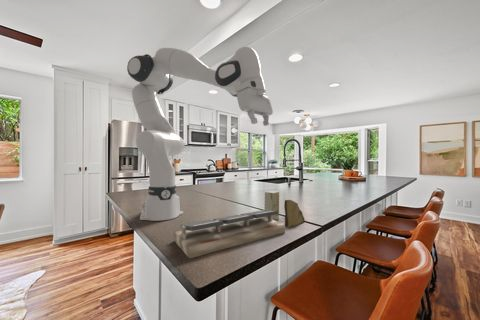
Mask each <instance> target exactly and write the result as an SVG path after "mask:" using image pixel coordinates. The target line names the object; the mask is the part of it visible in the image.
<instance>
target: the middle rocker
mask: <svg viewBox="0 0 480 320" xmlns="http://www.w3.org/2000/svg"><path fill="white" fill-rule="evenodd" d="M217 219H218V220H220V221H223V224H231V223H236V222H241V221H246V220H251V219H253V215H240V214H234V215H230V216H223V217H218V218H213V219H212V220H217Z"/></svg>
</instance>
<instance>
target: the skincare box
mask: <svg viewBox="0 0 480 320" xmlns="http://www.w3.org/2000/svg"><path fill="white" fill-rule="evenodd" d="M268 210H270V211H278V214H276V215H273V220H275V221H277V220H279V219H280V191H278V190H276V191H275V190H269V191H264V211H268ZM266 217H267V218H268V216H266Z"/></svg>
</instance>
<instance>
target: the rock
mask: <svg viewBox="0 0 480 320" xmlns="http://www.w3.org/2000/svg"><path fill="white" fill-rule="evenodd" d="M283 207H284V213H285V214H284V224H285V227H288V228H290V227H295V226H298V225H299V224H301V223H304V222H305V221H306V220H305V217H304V214H303V211H302V210H301V209H300V206H299V204H298V203H297V202H296V201H294V200H292V199H286V200H284V206H283Z"/></svg>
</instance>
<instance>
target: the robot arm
mask: <svg viewBox="0 0 480 320" xmlns="http://www.w3.org/2000/svg"><path fill="white" fill-rule="evenodd" d="M126 68H127V70H126V71H127V73H128V76H130V78H132V79H133V80H135V82H137V83H138V82H139V84H136V85H135V86H133V88H132V90H131V97H132V101H133V104H134V108H135V110H136V114H137V116H138V118H139V122H140V123H141V126H143V128H144V129H145V130H143V131H141V132H139V133H138V135H137V137H136V141H135V143H136V148H137V150H138V151H139V152H140V153H141V154H142V155H143V157H144V158H145V161H146V163H147V167H148V171H149V173H148V174H149V176H148V177H149V186H148V189H147V190H148V191H147V194H148V196H147V198H146V199H145V201H143V202H142V203H141V208H143V209H142V210H141V211H140V215H139V220H140V221H152V222H157V221H168V220H172V219H176V218H177V217H179V216H181V215H183V214H184V211H183V210H180V209H181V207H180V196H179V195H177V194H176V193H177V185H176V169H175V167H174V166H173V165H172V163H171V161H170V158H169V157H173V156H177V155H180V154H181V153H182V152H183V151H184V149H185V146H186V145H185V141H184V138H182V137H181V136H180V135H179V134H178V133H177V132H176V130H175V129H174V127H173V126H172V125H171V124H170V122H169V120H168V119H167V117H166V115H165V112H164V110H163V108H162V105H161V102H160V100H159V97H158V95H163V94H164V93H165V92H168V90H169V89H171V87H172V86H173V84H174V78H173V76H174V77H177V78H182V79H185V80H193V81H197V82H202V83H207V84H209V85H212V86H215V87H219V88H221V89H223V90H225V91H226V92H227V93H229V94H230V96H232V97H235V98H236V99H237V103H238V107H239V109H240V111H241V112H245V113H247V117H248V118H249V119H250V123H251V124H252V125H255V124H258V119H257V117H256V115H257V116H262V118H263V121H262V124H263V126H265V127H266V126H269V125H270V122H269V119H270V118H269V117H270V116H271V115H273V113H274V112H273V107H272V103H271V100H270V97H268V96H267V95H266V94H265V93H266V91H267V90H266V86H265V82H264V78H263V76H262V66H261V62H260V60H259V55H258V53H257V52H256V50H255V49H253V47H249V46H241V47H240V48H238V49H237V50H236V51H235V53H234V54H233V56H231V58H230V59H228V60H226V62H222V63H220V64H219V65H218V67H217V68H216V70H215V69H212V68H210V67H209V66H207V65H206V64H205V63H203V62H202V61H201V60H200V59H199V58H197V56H195V55H194V54H192V53H190V52H188V51H186V50H183V49H179V48H176V47H175V48H173V47H161V48H159V49H157V51H156V52H155V55H154V56H153V57H152V55H150V54H148V53H147V54H144V55H135V56H133V57H131V58H130V59H129V60H128V62H127V66H126Z"/></svg>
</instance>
